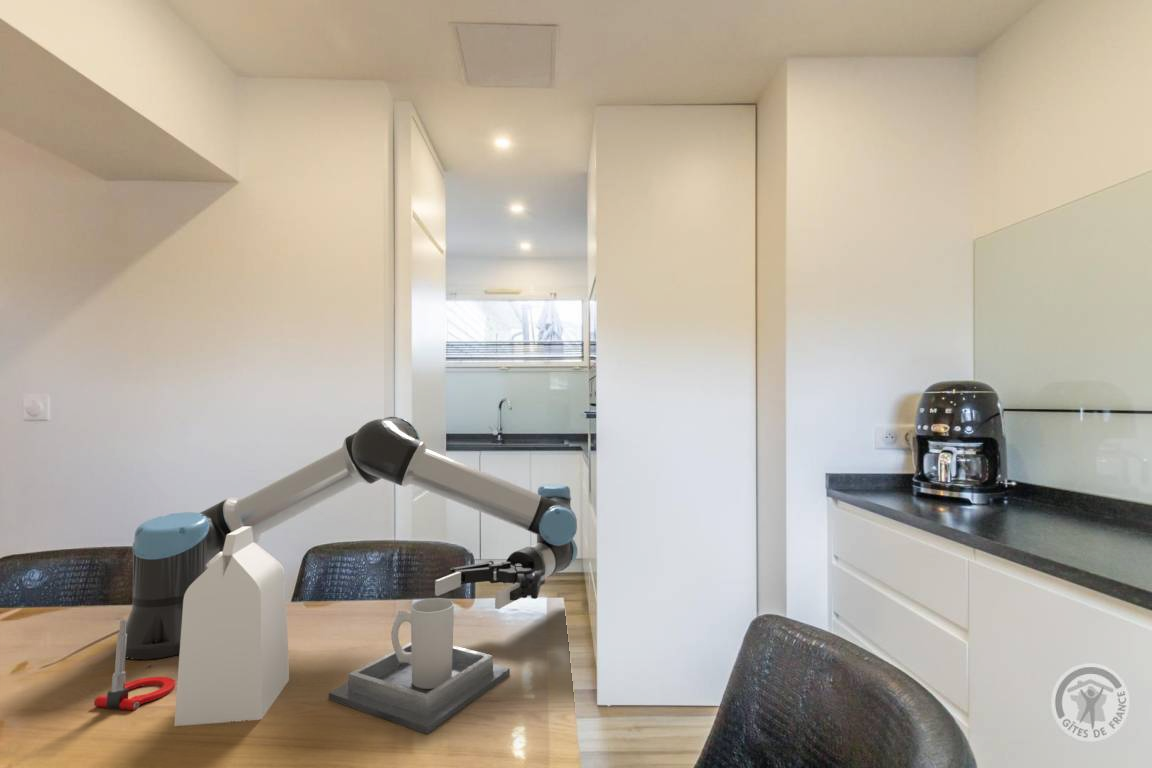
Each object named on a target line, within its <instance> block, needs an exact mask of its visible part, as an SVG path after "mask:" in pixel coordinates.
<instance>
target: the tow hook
mask: <svg viewBox="0 0 1152 768" xmlns="http://www.w3.org/2000/svg"><path fill="white" fill-rule="evenodd" d="M127 620H128V619H127V618H126V619H123V618H122V619H120V620H119V630H118V631H119V633H118V634H117V637H116V648H115V649H116V651H115V663H114V673H112V678H111V679H112V680H111V690H108V691H107V695H99V696H97V697H96V698H95V699H94V703H93V705H94V707H99V708H100V707H101V708H107V709H109V708H111V710H118V709H121V710H126V709H127V710H126V711H136V710H138V709H139V707H140V706H141V705H142V704H144V703H148V702H152V701H156V700H157V699H158V700H159V699H160V698H163V697H165V696H167V695H168V694H170V693H171V692H172V691H174V689H175V688H176V681H175V679H173V678H171V677H167V676H151V677H145V678H140V679H136V680H131V681H128V682H126V681H127V671H126V670H125V669H126V659H127V658H126V644H127V633H126V623H127ZM151 684H152V685H151ZM154 684H158V685H157V686H160V685H162V686H163V687H162V686H161V687H160V688H158V689H157V690H153V691H151V692H149V693H145V694H141V695H135V696H132V697H130V698H129V691H130V690H129V689H131V690H133V689H132V688H134V689H136V688H135V687H138V688H140V687H139V686H142V687H144V686H143V685H148V686H155V685H154ZM137 708H138V709H137ZM135 709H136V710H135Z"/></svg>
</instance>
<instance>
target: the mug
mask: <svg viewBox="0 0 1152 768" xmlns="http://www.w3.org/2000/svg"><path fill="white" fill-rule="evenodd" d="M454 606H455V602H454V601H453V600H452V599H449V598H443V597H433V598H432V597H429V598H424V599H421V600H417V601H415V602H414V603H412V604H411V605H410V613H408V612H407V611H405V610H398V612H397V616H396V618H395V620H394V622H393V625H392V628H391V633H390V634H391V637H390V638H391V642H392V647H393V649H394V650H395V653H396V656H397V659H398V661H399V662H400V663H403V662H405V663H409V664H410V665H411V667H412V683H413V685H414V686H415V687H418V688H421V689H434V688H436V687H438V686H439V685H441V684H443V683H444V682H446V681H447V680H449V679H450V678H451V677H452V654H453V645H454V620H455V618H454V617H455V616H454V615H455V614H454V613H455V611H454V609H455V607H454ZM406 622H408V623H409V624H410V632H411V633H410V635H411V636H410V638H411V640H410V642H411V652H405V651H404V650H403V649H402V646H401V644H400V639H399V630H400V628H401V626H402V624H403V623H406ZM394 650H393V651H394Z"/></svg>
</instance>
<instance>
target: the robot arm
mask: <svg viewBox="0 0 1152 768" xmlns="http://www.w3.org/2000/svg"><path fill="white" fill-rule="evenodd" d="M381 479H383V480H385V481H388V482H391V483H393V484H395V485H399V486H401V487H407V486H409V485H414V486H415V487H418V488H420V489H423V490H426V491H427V492H430V493H432V494H433V493H434V494H436V495H437V496H441V497H443V498H446V499H449V500H450V501H453V502H456V503H458V504H461V505H462V506H466V507H468V508H470V509H473V510H475V511H478V512H481V513H483V514H486V515H488V516H491V517H493V518H496V519H498V520H501V521H503V522H506V523H509V524H511V525H513V526H516V527H517V528H521V529H523V530H525V531H529V532H530V533H533V534H535V535H536V542H535V543H534V544H530V545H528V546H526V547H523V548H520V549H519V550H515V551H514V552H512V553H511V554H510V555H509V556H508V558H507V559H506V561H502V562H501V563H495V564H494V560H487V561H485V562H481V563H480V562H479V563H475V564H474V563H473V564H467V565H463V566H456V567H450V568H449V574H448V575H446V576H443V577H440V578H438V579H435V580H434V596H436V597H439V596H441V595H443V594H446V593H448V592H450V591H453V590H455V589H459V588H460V587H462V585H463V584H464V585H465V584H474V583H475V584H476V583H484V582H489V583H490V584H497V583H498V584H499V583H503V584H510V585H508V586H506V587H504V588H502V589H500V590H498V591H496V592H495V595H494V597H495V598H494V609H496V610H500V609H501V608H504V607H506V606H507V605H509V604H511V603H513V602H515V601H518V600H520V599H521V598H522V599H526V598H528V596H529V597H530V599H532V600H533V599H534V600H536V599H538V598H539V593H540V591H541V586H543V585H544V584H545V582H546V581H545V580H546V578H549V577H550V576H552V575H554V574H557V573H558V572H559V573H560V572H561V571H564V570H566V569H567V568H568V567H570V566H571V565H572V564H573V563H574V562H575V561H576V559H577V556H578V546H577V543H576V542H575V541H576V540H574V538H575V535H576V534H577V530H578V521H577V516H576V514H575V512H574V510H572V507H571V500H572V497H571V489H570V487H569V486H567V485H565V484H559V483H558V484H557V483H554V484H553V483H549V484H543V485H542V484H541V485H539V486H538V488H537V493H536V492H533V491H531V490H529V489H526V488H524V487H521V486H519V485H516V484H515V483H511V482H509V481H507V480H504V479H502V478H500V477H497V476H495V475H492V474H490V473H488V472H485V471H482V470H480V469H477V468H476V467H473V466H470V465H468V464H465V463H463V462H460V461H458V460H456V459H453V458H450V457H449V456H445V455H443V454H440V453H439V452H436V451H434V450H431V449H428V448H427V445H426V443H425V442H424V441H423V440H420V435H419V432H418V430H417V429H416V427H415V426H414V425H413V424H412V423H411V422H410V421H408V420H406V419H405V418H402V417H398V416H388V417H385V418H377V419H373V420H371V421H368V422H366V423H365V424H363V425H362V426H361V427H360V428H359V429H358V430H357V431H356V432H354V433H352V434H350V435H349V436H346V437H345V438H344V439H343V443H342V447H340V448H338V449H336V450H335V451H333V452H331V453H329V454H327V455H325V456H323V457H321V458H320V459H316V460H315V461H314V462H311V463H310V464H308V465H306V466H303V467H302V468H300V469H298V470H296V471H293V472H292V473H290V474H288V475H286V476H284V477H282V478H281V479H279V480H276V481H274V482H273V483H271V484H269V485H267V486H265V487H263V488H261V489H259V490H257V491H255V492H254V493H251V494H249V495H247V496H246V497H244V498H239V497H235V496H231V497H228V498H226V499H224V500H222V501H220V502H218V503H216V504H215V505H213V506H210V507H208V508H206V509H205V510H203V511H201V512H190V511H188V512H177V513H170V514H166V515H164V516H163V515H161V516H157V517H154V518H151V519H147V521H145V522H143V523H141V524H140V525H139V526H138V527H137V528H136V530H135V531H134V539H133V543H132V548H131V549H132V556H133V557H132V559H133V560H132V603H131V604H132V606H131V610H130V613H129V615H128V618H127V619H126V620H127V621H126V633H127V644H126V657H128V658H133V659H132V660H138V659H143V660H155V658H156V659H161V658H167V657H168V658H169V657H172V656H177V655H179V654H180V640H181V626H182V612H183V599H184V594H185V592H186V590H187V589H188V587H189V586H190V585H191V584H192V583H193V582H194V581H195V580H196V579H197V578H198V577H199V576H200V575H201V574H202V573H203V572H205V571H206V570H207V569H208V567H207V566H206V564H207V563H208V562H209V561H210V560H211V559H212V558H213V557H214V556H216V555H217V554H218V553H219V552H221V551H222V552H223V548H224V544H225V540H226V535H227V534H229V533H231V532H233V531H235V530H237V529H239V528H241V527H245V526H252V532H253V542H254V543H256V544H257V545H258V543H259V542H260V540H261V537H262V534H264V533H266V532H268V531H269V530H270V531H271V530H272V529H273V528H276V527H277V526H279V525H281V524H283V523H286V521H288V520H291V519H292V518H295V517H297V516H298V515H300V514H302V513H303V512H304V513H305V512H306V511H307V510H310V509H311V508H314V507H315V506H317V505H319V504H322V503H323V502H325V501H327V500H329V499H330V498H333V497H335V496H336V495H338V494H340V493H342V492H344V491H346V490H347V489H349V488H352V487H354V486H355V485H357V484H359V483H365V484H369V485H371V484H374V483H375V482H377V481H378V482H379V480H381ZM494 577H495V578H494ZM128 658H127V659H128Z"/></svg>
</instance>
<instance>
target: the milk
mask: <svg viewBox="0 0 1152 768" xmlns="http://www.w3.org/2000/svg"><path fill="white" fill-rule="evenodd" d="M206 566H207V567H208V569H207V570H206V571H205V572H203V573H202V574H201V575H200V576H199V577H198V578H197V579H196V580H195V581H194V582H193V583H192V584H191V585H190V586H189V587H188V589H187V590H186V592H185V594H184V599H183V612H182V626H181V640H180V654H178V655H179V657H178V667H177V668H178V670H177V672H178V673H177V682H176V685H177V686H176V696H175V710H174V711H175V712H174V724H173V725H174V727H178V726H179V727H180V726H192V725H205V724H206V725H207V724H218V723H219V724H222V723H231V721H232V723H233V721H235V722H246V721H245V720H248V721H258V720H259V721H261V720H263V718H264V717H265V715H266V714H267V713H268V711H269V710H270V708H271V707H272V705H273V704H274V702H275V701H276V699H277V698H278V697H279V695H280V694H281V693H282V691H283V690H284V688H285V686H286V685H287V684H288V682H289V681H290V669H289V667H290V666H289V661H290V660H289V641H288V616H287V615H288V610H287V589H286V572H285V569H284V567H283V565H282V564H281V563H280V562H279V561H278V560H277V559H275V558H274V556H272V555H271V554H269V553H268V552H267V551H265V550H264V549H263V548H262V547H261V546H260V545H258V543H257V544H256V543H254V542H253V532H252V526H245V527H241V528H239V529H237V530H235V531H233V532H231V533H229V534H227V535H226V540H225V544H224V548H223V552H222V551H221V552H219V553H218V554H217V555H216V556H214V557H213V558H212V559H211V560H210V561H209V562H208V563H207V564H206ZM260 719H261V720H260ZM242 720H243V721H242Z"/></svg>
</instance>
